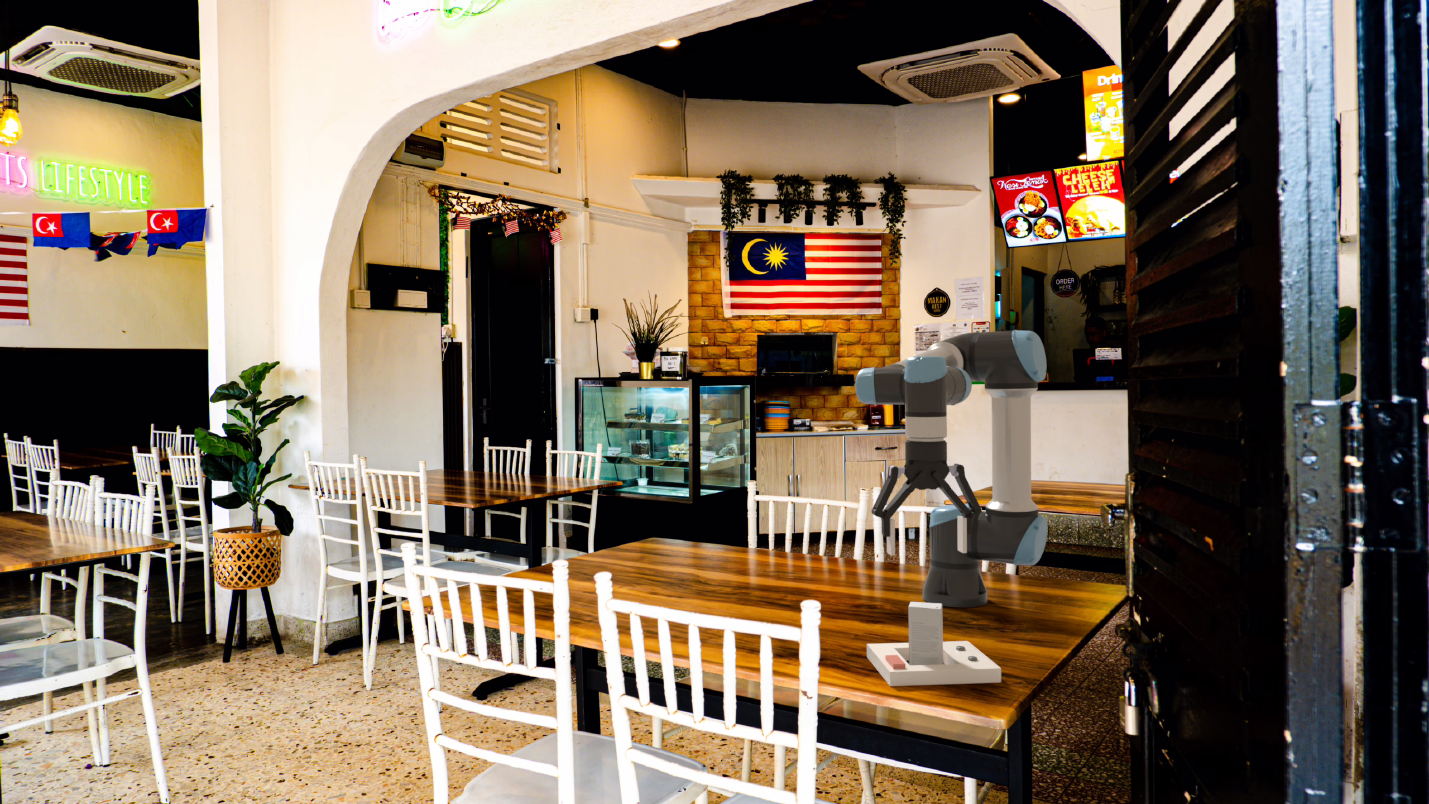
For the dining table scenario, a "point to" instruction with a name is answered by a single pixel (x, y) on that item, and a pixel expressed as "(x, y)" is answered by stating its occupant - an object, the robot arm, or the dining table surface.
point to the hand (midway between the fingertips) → (926, 553)
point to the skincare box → (925, 633)
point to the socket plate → (957, 669)
